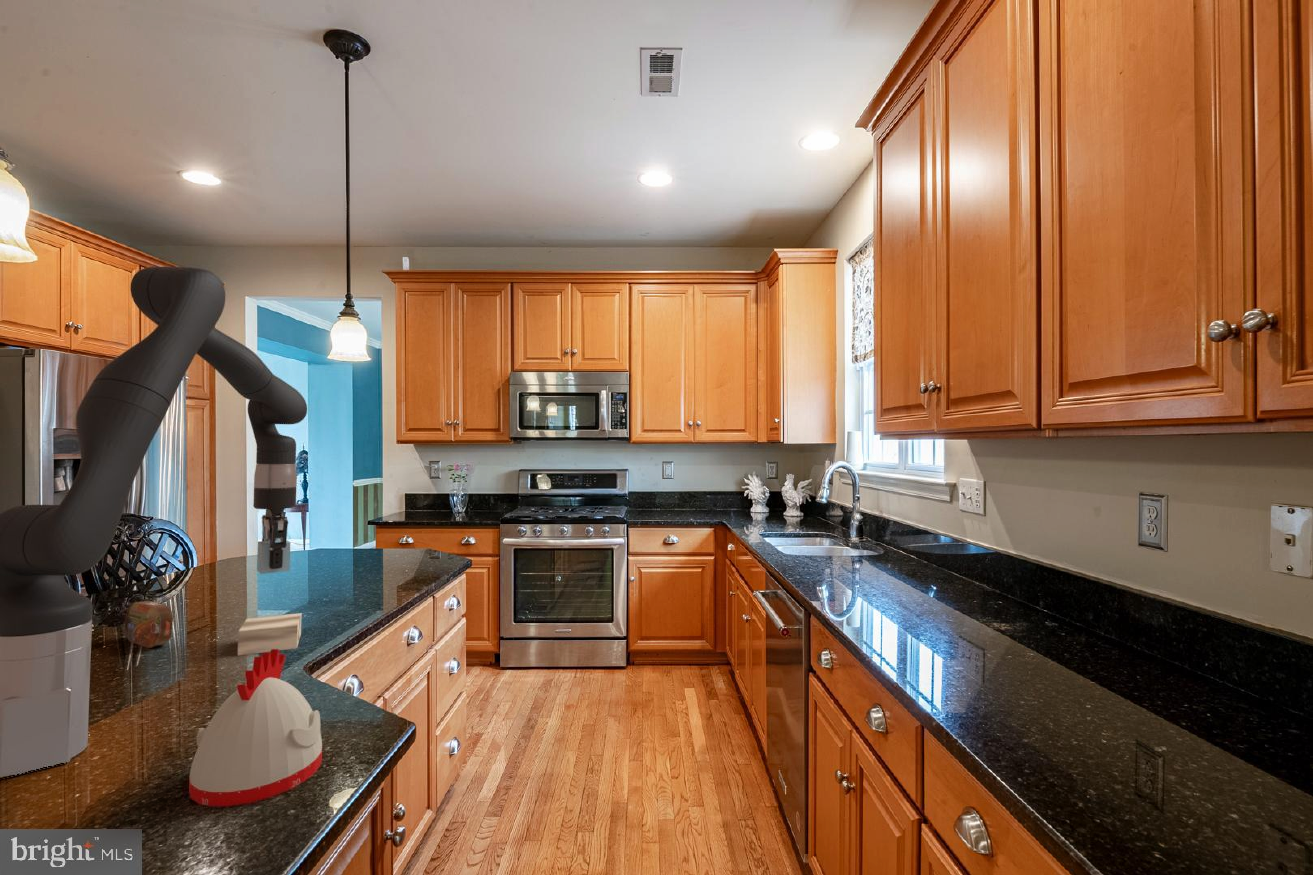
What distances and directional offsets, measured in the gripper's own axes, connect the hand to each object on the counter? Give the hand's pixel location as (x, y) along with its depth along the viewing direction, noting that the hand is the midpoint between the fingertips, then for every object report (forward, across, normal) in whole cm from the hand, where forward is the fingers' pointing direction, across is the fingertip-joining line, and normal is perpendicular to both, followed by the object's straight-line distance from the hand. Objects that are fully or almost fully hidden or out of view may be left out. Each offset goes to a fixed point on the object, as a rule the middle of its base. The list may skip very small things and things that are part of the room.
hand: (273, 565), depth 122 cm
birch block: (+17, 0, 0) cm, 17 cm away
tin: (+17, +17, +19) cm, 30 cm away
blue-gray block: (+1, 0, 0) cm, 1 cm away
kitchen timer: (+17, -56, +10) cm, 59 cm away
